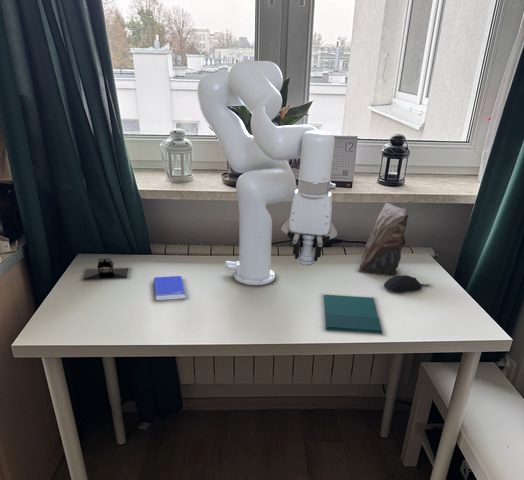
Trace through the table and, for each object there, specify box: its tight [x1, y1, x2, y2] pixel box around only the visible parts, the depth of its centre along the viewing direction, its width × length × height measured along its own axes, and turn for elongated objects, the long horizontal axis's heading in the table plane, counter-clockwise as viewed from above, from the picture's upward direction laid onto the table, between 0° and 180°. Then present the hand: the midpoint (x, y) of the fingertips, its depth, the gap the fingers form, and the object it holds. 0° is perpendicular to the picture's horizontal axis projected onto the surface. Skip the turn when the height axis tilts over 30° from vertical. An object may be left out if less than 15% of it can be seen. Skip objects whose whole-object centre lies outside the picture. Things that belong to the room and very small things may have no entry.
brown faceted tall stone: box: [358, 201, 409, 277], centre depth 159 cm, size 13×13×20 cm
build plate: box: [83, 257, 129, 280], centre depth 152 cm, size 12×7×5 cm, turn 100°
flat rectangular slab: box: [323, 294, 383, 334], centre depth 137 cm, size 14×20×1 cm
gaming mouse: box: [383, 274, 430, 294], centre depth 151 cm, size 6×15×4 cm, turn 106°
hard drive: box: [153, 275, 186, 301], centre depth 145 cm, size 2×8×12 cm
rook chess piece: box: [297, 234, 316, 266], centre depth 130 cm, size 4×4×8 cm
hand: (306, 257), depth 131 cm, fingers closed on rook chess piece, 4 cm apart
